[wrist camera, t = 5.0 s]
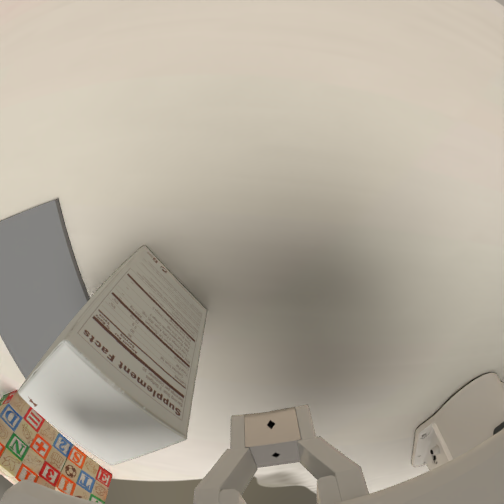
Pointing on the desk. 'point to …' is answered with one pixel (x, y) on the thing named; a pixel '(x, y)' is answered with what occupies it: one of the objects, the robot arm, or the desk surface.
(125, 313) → the supplement box
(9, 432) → the stack of blocks
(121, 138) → the desk surface
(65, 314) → the mat
